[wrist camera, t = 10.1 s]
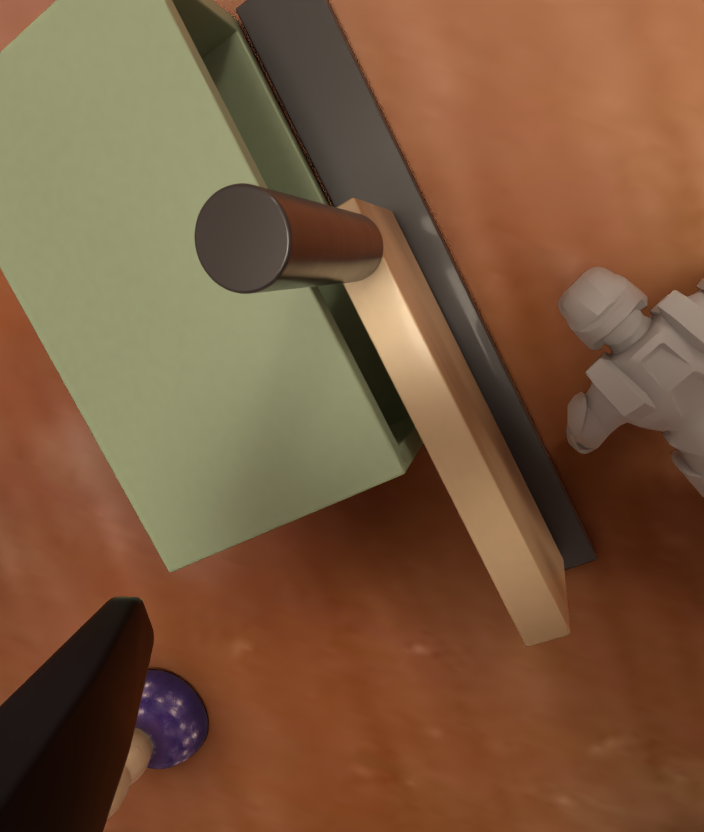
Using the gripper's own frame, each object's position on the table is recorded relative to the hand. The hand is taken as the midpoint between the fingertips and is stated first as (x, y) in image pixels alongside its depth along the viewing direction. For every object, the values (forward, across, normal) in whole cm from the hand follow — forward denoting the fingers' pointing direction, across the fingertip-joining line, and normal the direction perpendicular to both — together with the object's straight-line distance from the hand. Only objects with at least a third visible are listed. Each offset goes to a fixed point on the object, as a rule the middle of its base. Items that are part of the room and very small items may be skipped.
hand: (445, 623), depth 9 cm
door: (+11, -1, +4) cm, 12 cm away
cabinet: (+13, +3, +3) cm, 13 cm away
